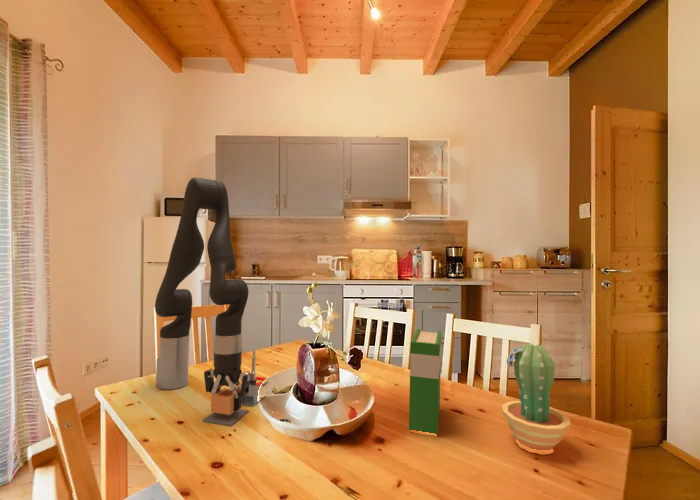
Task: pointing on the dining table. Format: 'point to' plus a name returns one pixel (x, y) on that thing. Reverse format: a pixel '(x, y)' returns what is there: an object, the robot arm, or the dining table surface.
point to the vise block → (250, 395)
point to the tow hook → (253, 373)
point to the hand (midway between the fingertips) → (226, 408)
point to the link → (223, 402)
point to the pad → (225, 418)
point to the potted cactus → (534, 400)
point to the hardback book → (425, 381)
